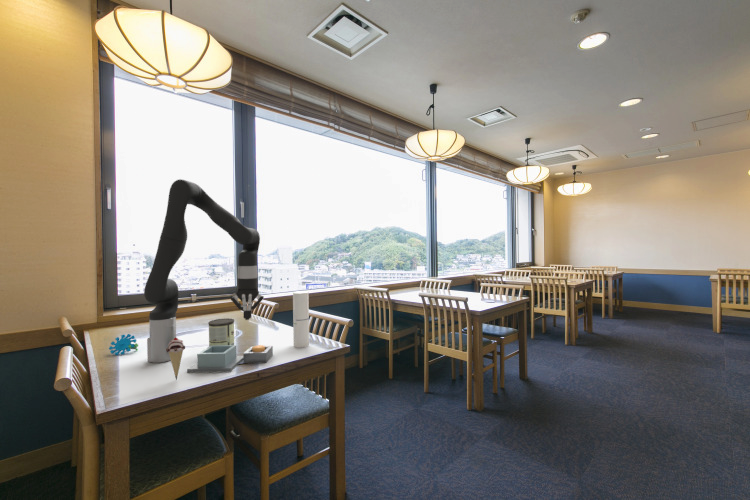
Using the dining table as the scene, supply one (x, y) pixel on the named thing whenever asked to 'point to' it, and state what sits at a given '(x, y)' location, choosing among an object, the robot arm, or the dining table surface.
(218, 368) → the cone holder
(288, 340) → the dining table surface
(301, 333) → the cylindrical container
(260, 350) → the button
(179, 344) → the ice cream cone
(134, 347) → the blue knobby piece
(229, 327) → the coffee can
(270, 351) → the button housing
